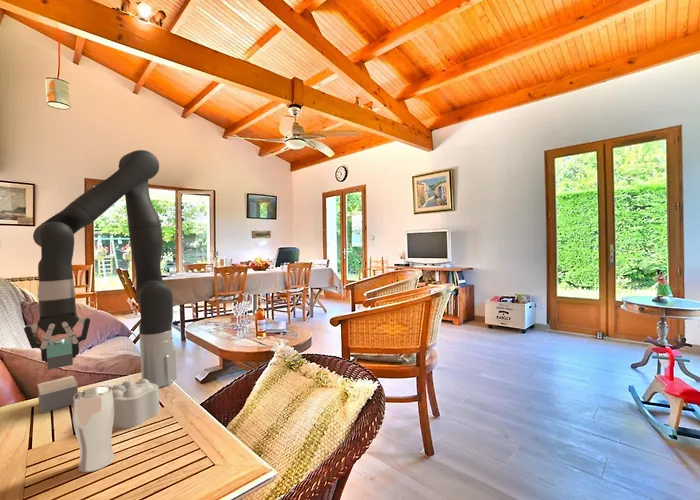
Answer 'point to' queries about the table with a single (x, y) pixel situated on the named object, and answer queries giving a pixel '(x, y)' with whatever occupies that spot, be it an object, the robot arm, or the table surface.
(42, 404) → the stand
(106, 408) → the beer glass
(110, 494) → the table surface
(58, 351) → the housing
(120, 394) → the lumpy-topped squat cylinder
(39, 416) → the table surface
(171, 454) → the table surface
